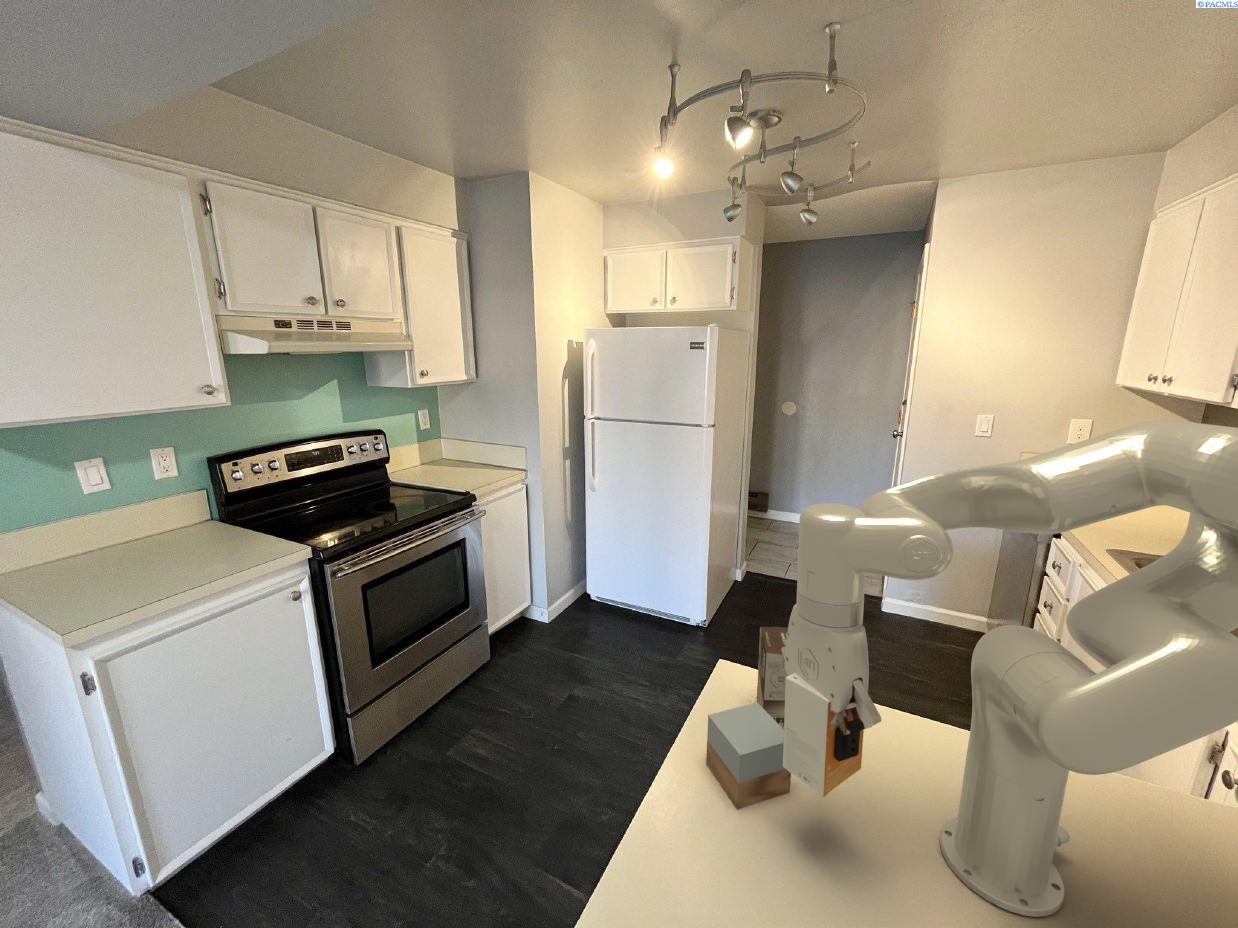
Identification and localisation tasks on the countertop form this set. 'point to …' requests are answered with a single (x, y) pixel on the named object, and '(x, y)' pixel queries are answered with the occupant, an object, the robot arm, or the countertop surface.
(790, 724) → the small box
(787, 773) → the tower base block
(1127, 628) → the robot arm
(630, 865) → the countertop surface
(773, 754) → the tower top block
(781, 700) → the coffee box
